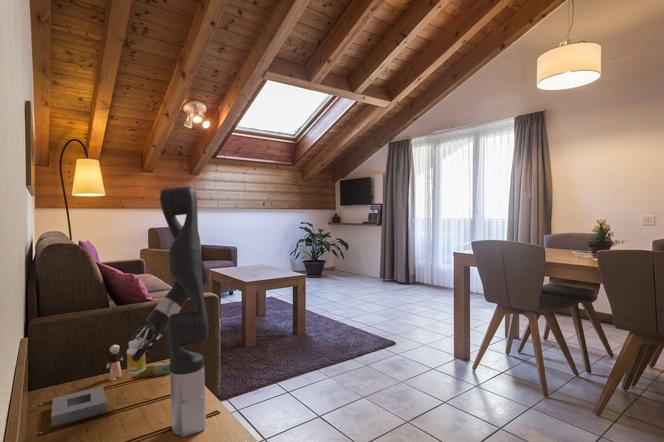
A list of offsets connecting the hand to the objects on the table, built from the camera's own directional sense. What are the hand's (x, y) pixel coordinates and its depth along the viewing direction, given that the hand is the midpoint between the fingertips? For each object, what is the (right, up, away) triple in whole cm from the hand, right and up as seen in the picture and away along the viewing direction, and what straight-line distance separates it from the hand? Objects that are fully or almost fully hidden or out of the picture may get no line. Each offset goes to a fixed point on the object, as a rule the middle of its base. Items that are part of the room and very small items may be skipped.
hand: (130, 358), depth 125 cm
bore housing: (-14, -15, -3) cm, 21 cm away
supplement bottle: (+1, -5, +2) cm, 5 cm away
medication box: (-2, -15, +23) cm, 27 cm away
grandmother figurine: (-16, -15, +20) cm, 30 cm away
